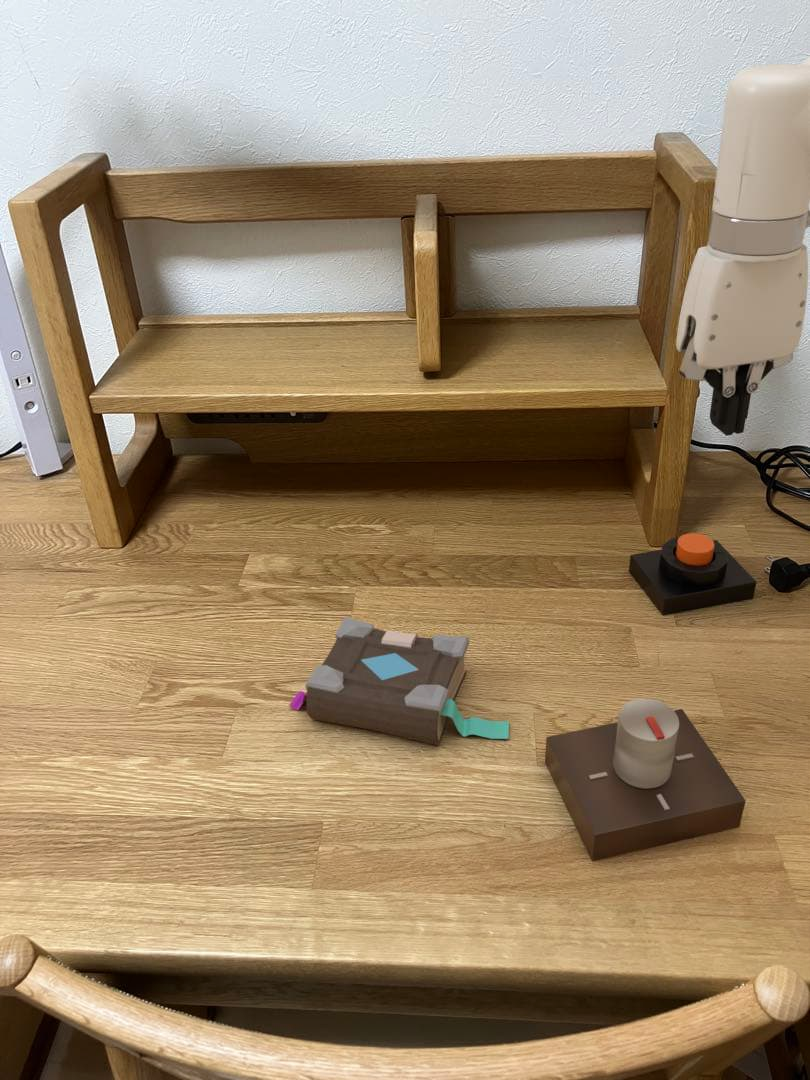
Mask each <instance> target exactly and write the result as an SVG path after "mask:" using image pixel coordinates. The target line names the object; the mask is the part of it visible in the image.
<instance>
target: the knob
mask: <svg viewBox="0 0 810 1080" xmlns="http://www.w3.org/2000/svg"><path fill="white" fill-rule="evenodd" d="M674 711H675V710H674V709H673V708H672V707H670V706H669V705H668V704H666V703H664V702H662V701H660V700H656V699H653V698H635V699H632V700H630V701H627V702H625V704H624V705H622V706H621V708H620V709H619V712H618V718H617V722H618V725H617V734H616V742H615V750H614V758H613V767H614V770H615V772H616V774H617V775H618V776H619V777H620V778H621V779H622V780H623V781H624V782H626V783H627V784H629V785H632V786H634V787H638V788H644V789H650V788H656V787H659V786H661V785H663V784H664V783H665V782H666V781H667V780H668V779H669V777H670V775H671V770H672V764H673V758H674V753H675V747H676V741H677V736H678V730H679V719H678V716H677V714H676V713H675V712H674Z"/></svg>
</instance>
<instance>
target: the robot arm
mask: <svg viewBox="0 0 810 1080" xmlns="http://www.w3.org/2000/svg"><path fill="white" fill-rule="evenodd" d="M723 106H724V108H723V115H722V124H721V132H720V140H719V150H718V158H717V167H716V174H715V182H714V190H713V191H714V192H713V198H712V199H713V200H712V208H711V214H710V223H709V231H708V239H707V245H706V246H700V247H699V248H698V249H697V251H696V254H695V256H694V260H693V262H692V265H691V268H690V270H689V274H688V278H687V280H686V286H685V290H684V294H683V298H682V302H681V307H680V313H679V319H678V325H677V331H676V341H675V346H676V347H675V349H676V350H677V352H678V353H680V354H682V355H683V358H682V361H681V364H680V366H679V370H678V373H679V374H680V375H681V376H682V377H683V378H684V379H686V381H687V380H688V381H697V382H703V381H705V382H706V383H707V384H708V385H709V386H710V387H711V388H713V389H712V395H711V401H710V402H711V403H710V410H709V419H710V423H711V425H713V426H714V427H715V428H716V429H717V430H719V431H720V432H721V433H722V434H723V435H725V436H726V437H727V436H732V435H733V434H736V435H739V434H743V433H744V431H745V426H746V420H747V418H748V415H749V409H750V403H751V398H752V397H751V396H752V394H754V393H756V392H757V391H758V389H759V388H760V385H761V381H762V380H763V379H765V377H766V376H767V375H768V374H770V372H771V371H772V370H775V369H777V368H781V367H783V366H785V365H788V364H790V363H791V362H792V361H793V358H794V352H795V351H796V350H797V348H798V347H799V344H800V341H801V337H802V332H803V328H804V322H805V315H806V307H807V298H808V288H809V287H808V286H809V257H808V247H807V245H805V244H804V239H805V233H806V230H807V229H808V228H810V55H809V56H808V57H806V59H805V60H803V61H802V62H801V63H800V64H798V63H796V64H795V63H794V64H793V63H777V64H764V65H757V66H751V67H747V68H744V69H743V70H740V71H738V72H737V73H736V74H734V76H733V77H732V79H731V80H730V82H729V84H728V86H727V89H726V93H725V100H724V105H723Z"/></svg>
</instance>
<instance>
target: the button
mask: <svg viewBox="0 0 810 1080" xmlns="http://www.w3.org/2000/svg"><path fill="white" fill-rule="evenodd" d="M679 537H680V538H679V539H678V542H677V549H676V557H677V559H678V560H679V561H682V562H684V563H686V564H689V565H697V566H701V565H706V564H709V563H710V562H711V561H712V557H713V552H714V546H715V545H714V542H713V539H711V538H710V537H708V536H707V535H705V534H701V533H695V532H693V533H684V534H682V535H681V536H679Z"/></svg>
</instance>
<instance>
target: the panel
mask: <svg viewBox="0 0 810 1080" xmlns="http://www.w3.org/2000/svg"><path fill="white" fill-rule="evenodd" d="M673 711H674V712H675V713H676V714H677V716H678V719H679V730H678V736H677V741H676V747H675V753H674V758H673V764H672V770H671V775H670V777H669V779H668V780H667V781H666V782H665V783H664V784H663V785H661V786H659V787H656V788H650V789H644V788H638V787H634V786H632V785H629V784H627V783H626V782H624V781H623V780H622V779H621V778H620V777H619V776H618V775H617V774H616V772H615V770H614V767H613V758H614V750H615V742H616V734H617V725H618V721H617V722H612V723H608V724H603V725H598V726H593V727H588V728H583V729H578V730H573V731H570V732H569V731H568V732H564V733H559V734H554V735H549V736H546V737H545V755H544V764H545V766H546V768H547V770H548V772H549V774H550V777H551V778H552V781H553V782H554V784H555V786H556V787H555V788H556V789H557V791H558V793H559V795H560V797H561V799H562V801H563V803H564V805H565V808H566V810H567V812H568V814H569V816H570V819H571V820H572V822H573V824H574V827H575V828H576V830H577V833H578V835H579V837H580V840H581V841H582V843H583V845H584V847H585V850H586V852H587V854H588V856H589V858H590V860H591V861H592V862H593V861H594V862H595V861H598V860H602V859H603V860H604V859H607V858H611V857H615V856H619V855H624V854H628V853H633V852H637V851H641V850H645V849H650V848H654V847H658V846H663V845H668V844H671V843H675V842H680V841H684V840H689V839H693V838H697V837H702V836H705V835H710V834H714V833H718V832H723V831H727V830H731V829H736V828H740V826H741V823H742V818H743V813H744V810H745V806H746V802H747V800H746V798H745V797H744V796H743V794H742V793H741V791H740V790H739V789H738V787H737V786H736V785H735V783H734V781H733V780H732V778H731V777H730V775H729V774H728V773H727V772H726V770H725V768H724V767H723V766H722V764H721V763H720V761H719V760H718V759H717V757H716V756H715V754H714V752H713V751H712V750H711V748H710V747H709V746H708V744H707V743H706V741H705V739H704V738H703V737H702V735H701V734H700V732H699V731H698V730H697V728H696V726H695V725H694V723H693V722H692V721H691V720H690V718H689V717H688V715H687V714H686V712H685V711H684V709H683V708H680V709H675V710H673Z"/></svg>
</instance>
